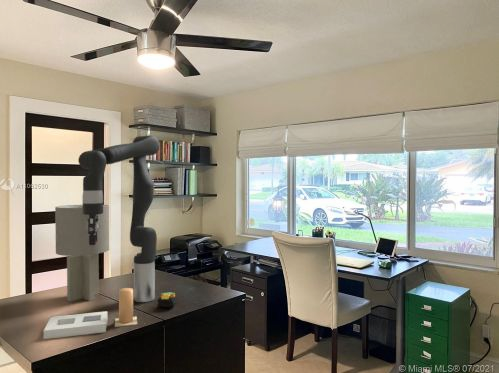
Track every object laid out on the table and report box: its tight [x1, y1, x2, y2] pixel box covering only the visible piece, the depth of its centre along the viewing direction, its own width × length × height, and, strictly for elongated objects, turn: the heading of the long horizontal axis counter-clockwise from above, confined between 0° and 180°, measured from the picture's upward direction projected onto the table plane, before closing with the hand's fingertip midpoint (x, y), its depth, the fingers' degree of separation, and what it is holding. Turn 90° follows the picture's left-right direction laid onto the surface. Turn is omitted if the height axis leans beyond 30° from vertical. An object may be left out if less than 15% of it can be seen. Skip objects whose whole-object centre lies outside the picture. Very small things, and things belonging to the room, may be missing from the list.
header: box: [43, 310, 108, 340], centre depth 141 cm, size 14×20×3 cm
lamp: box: [54, 204, 110, 303], centre depth 178 cm, size 23×23×43 cm
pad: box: [114, 316, 138, 328], centre depth 147 cm, size 8×8×1 cm
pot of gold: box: [157, 292, 178, 309], centre depth 167 cm, size 6×13×6 cm, turn 179°
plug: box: [118, 287, 134, 323], centre depth 147 cm, size 5×5×12 cm
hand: (93, 243), depth 150 cm, fingers open, 8 cm apart
